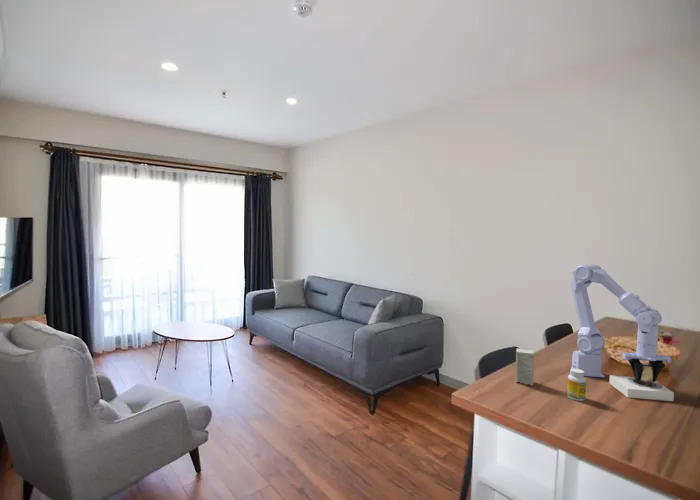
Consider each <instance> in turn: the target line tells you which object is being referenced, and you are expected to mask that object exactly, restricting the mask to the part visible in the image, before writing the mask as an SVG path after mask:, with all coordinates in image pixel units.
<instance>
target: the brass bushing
mask: <svg viewBox="0 0 700 500" xmlns="http://www.w3.org/2000/svg"><path fill="white" fill-rule="evenodd" d="M641 363H642V364H643V366H642V369H641V378H640V381H638V380H637V384H640V385H643V386H648V387H653V371H654V366H653V365H650V364H649V363H647V362H646V363H644V362H641Z"/></svg>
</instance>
